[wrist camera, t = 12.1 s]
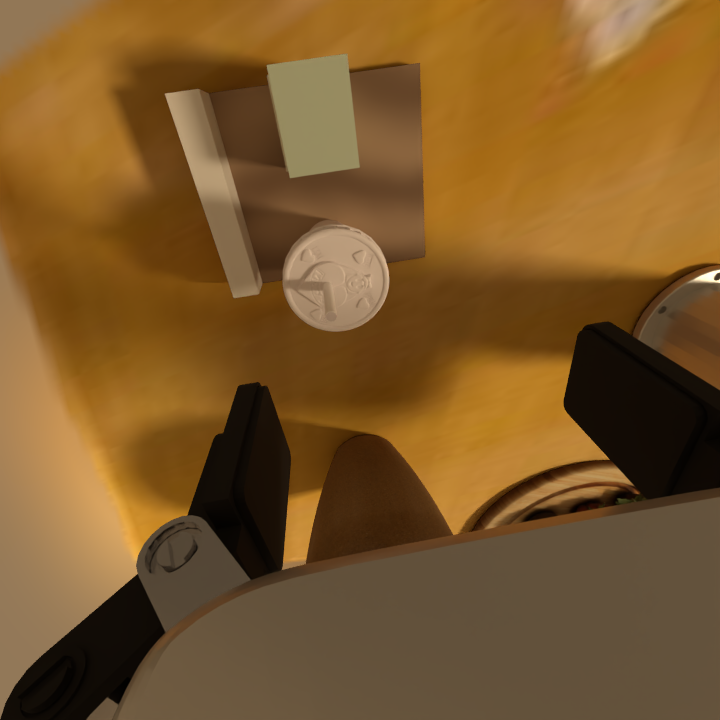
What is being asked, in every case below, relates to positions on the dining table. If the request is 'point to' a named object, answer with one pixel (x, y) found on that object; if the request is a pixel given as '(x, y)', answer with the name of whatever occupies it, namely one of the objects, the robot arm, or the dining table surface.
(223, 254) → the rail
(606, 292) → the dining table surface
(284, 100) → the tea box
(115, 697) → the robot arm
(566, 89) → the dining table surface
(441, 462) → the dining table surface
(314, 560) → the plant pot
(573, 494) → the wooden plate with food
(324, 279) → the smoothie
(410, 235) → the shelf board
